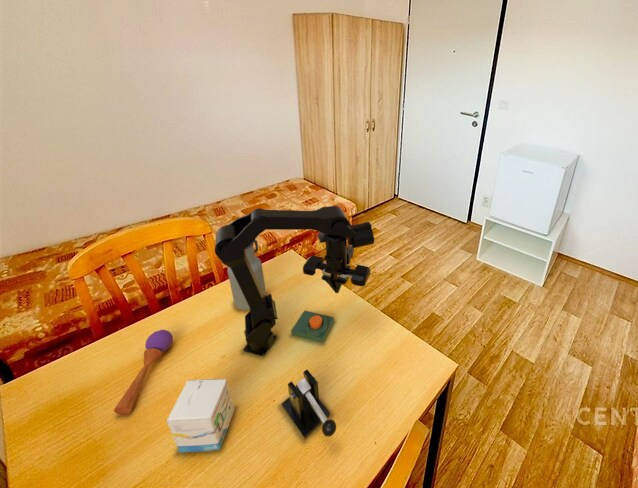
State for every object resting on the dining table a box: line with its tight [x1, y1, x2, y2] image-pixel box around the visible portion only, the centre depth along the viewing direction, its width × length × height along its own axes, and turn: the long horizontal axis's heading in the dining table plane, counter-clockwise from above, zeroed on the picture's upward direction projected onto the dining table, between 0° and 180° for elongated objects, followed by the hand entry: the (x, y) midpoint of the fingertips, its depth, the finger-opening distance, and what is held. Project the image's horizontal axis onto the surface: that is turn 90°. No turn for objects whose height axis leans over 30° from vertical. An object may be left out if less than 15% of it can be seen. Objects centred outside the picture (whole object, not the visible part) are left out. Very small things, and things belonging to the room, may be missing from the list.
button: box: [309, 315, 322, 329], centre depth 94 cm, size 4×4×2 cm
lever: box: [295, 377, 337, 438], centre depth 70 cm, size 13×3×3 cm, turn 48°
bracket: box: [281, 369, 331, 440], centre depth 74 cm, size 10×7×11 cm
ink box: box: [166, 378, 235, 454], centre depth 69 cm, size 9×8×12 cm
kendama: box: [113, 329, 174, 415], centre depth 80 cm, size 6×6×20 cm
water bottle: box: [227, 238, 267, 311], centre depth 99 cm, size 10×10×28 cm
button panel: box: [290, 309, 335, 344], centre depth 96 cm, size 10×8×4 cm
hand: (337, 292), depth 95 cm, fingers closed
